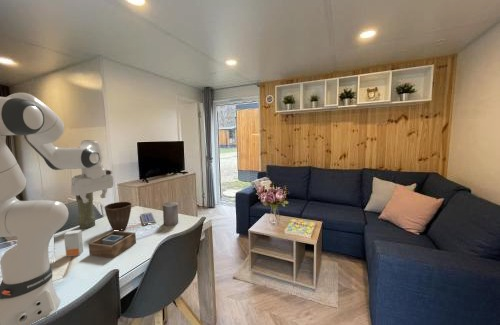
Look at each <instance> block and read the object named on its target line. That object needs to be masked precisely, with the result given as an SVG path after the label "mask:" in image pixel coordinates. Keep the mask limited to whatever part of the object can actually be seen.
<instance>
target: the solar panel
mask: <svg viewBox="0 0 500 325" xmlns="http://www.w3.org/2000/svg"><path fill="white" fill-rule="evenodd" d="M140 220H141V222H142V225H143V224H148V223H155V224H156V222H157V221H156V219H155V217H154V215H153V212H144V213H141V214H140Z"/></svg>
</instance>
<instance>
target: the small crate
mask: <svg viewBox="0 0 500 325" xmlns="http://www.w3.org/2000/svg"><path fill="white" fill-rule="evenodd" d="M122 239H124V236H117V235H110V236H108V237H107V238H105V239H103V240H102V244H103V245H111V246H112V245H113V244H115V243H117V242H119V241H120V240H122Z"/></svg>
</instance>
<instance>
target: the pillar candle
mask: <svg viewBox="0 0 500 325" xmlns="http://www.w3.org/2000/svg"><path fill="white" fill-rule="evenodd" d="M178 206H179V204H178V202H176V201H170V202H169V201H168V202H164V203H163V204H162V213H163V225H164V226H167V227H168V226H169V227H170V226H175V225H177V224H178V223H179V210H178V209H179V207H178Z"/></svg>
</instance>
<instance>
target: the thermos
mask: <svg viewBox="0 0 500 325" xmlns="http://www.w3.org/2000/svg"><path fill="white" fill-rule="evenodd" d="M78 178H79V177H78ZM85 197H86V198H87V199H89V200H88V201H89V202H88V203H83V199H82V198H81V197H80V195H79V196H76V195H75V199H76V204H77V207H78V208H77V209H78V218H77V220H78V221H77V222H78V225H79V230H86V229H91V228H93V227H95V226H96V215H95V213H94V202H93V200H94V192H91V193H87V194H86V196H85Z"/></svg>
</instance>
